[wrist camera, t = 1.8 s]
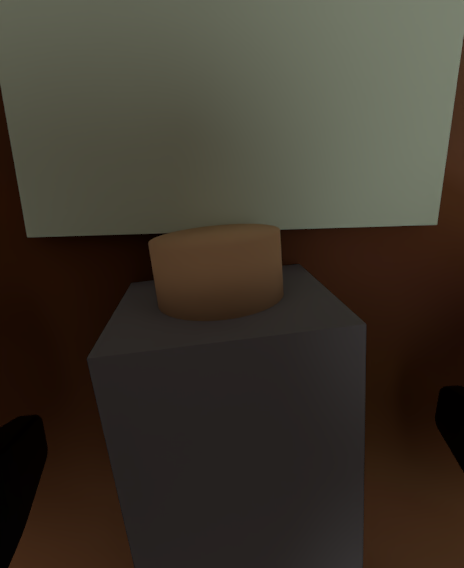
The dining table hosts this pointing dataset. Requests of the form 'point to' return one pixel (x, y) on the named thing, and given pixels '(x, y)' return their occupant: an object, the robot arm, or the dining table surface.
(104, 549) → the dining table surface
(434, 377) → the dining table surface
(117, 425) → the grey tall block
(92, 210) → the mat
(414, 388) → the dining table surface
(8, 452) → the robot arm
